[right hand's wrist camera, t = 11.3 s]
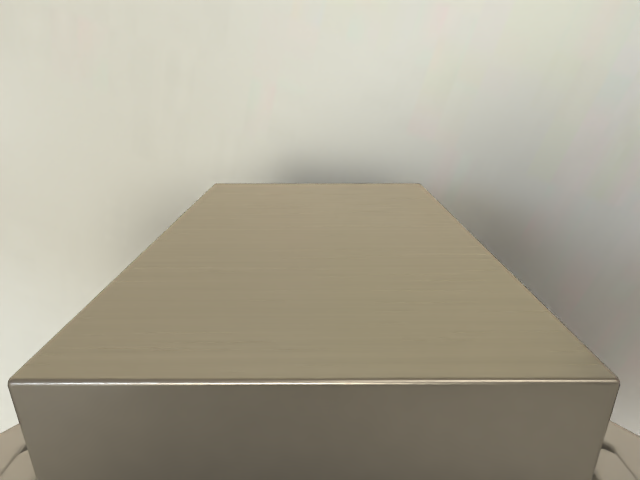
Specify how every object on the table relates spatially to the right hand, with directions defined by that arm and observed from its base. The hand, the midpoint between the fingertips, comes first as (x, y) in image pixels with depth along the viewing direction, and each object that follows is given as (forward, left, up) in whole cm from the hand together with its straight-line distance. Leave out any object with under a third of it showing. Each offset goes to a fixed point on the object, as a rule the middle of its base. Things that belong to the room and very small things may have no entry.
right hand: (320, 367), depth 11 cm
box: (-4, +9, -4) cm, 11 cm away
